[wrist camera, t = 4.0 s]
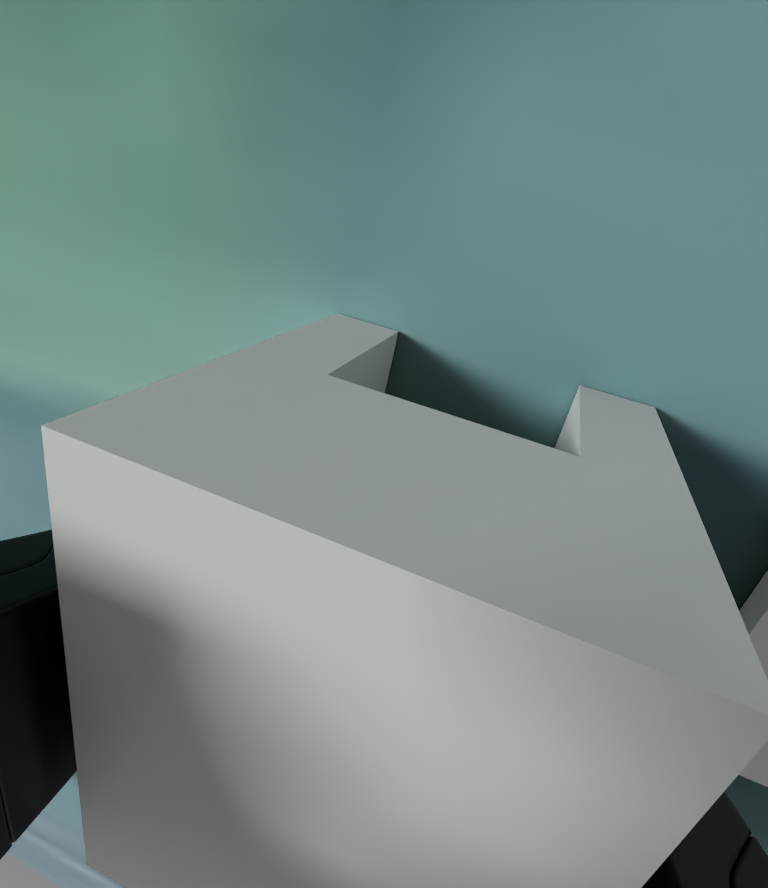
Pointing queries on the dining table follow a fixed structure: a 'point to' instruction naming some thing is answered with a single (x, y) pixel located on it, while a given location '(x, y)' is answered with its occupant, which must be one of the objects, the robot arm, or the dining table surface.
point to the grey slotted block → (386, 633)
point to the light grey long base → (764, 623)
